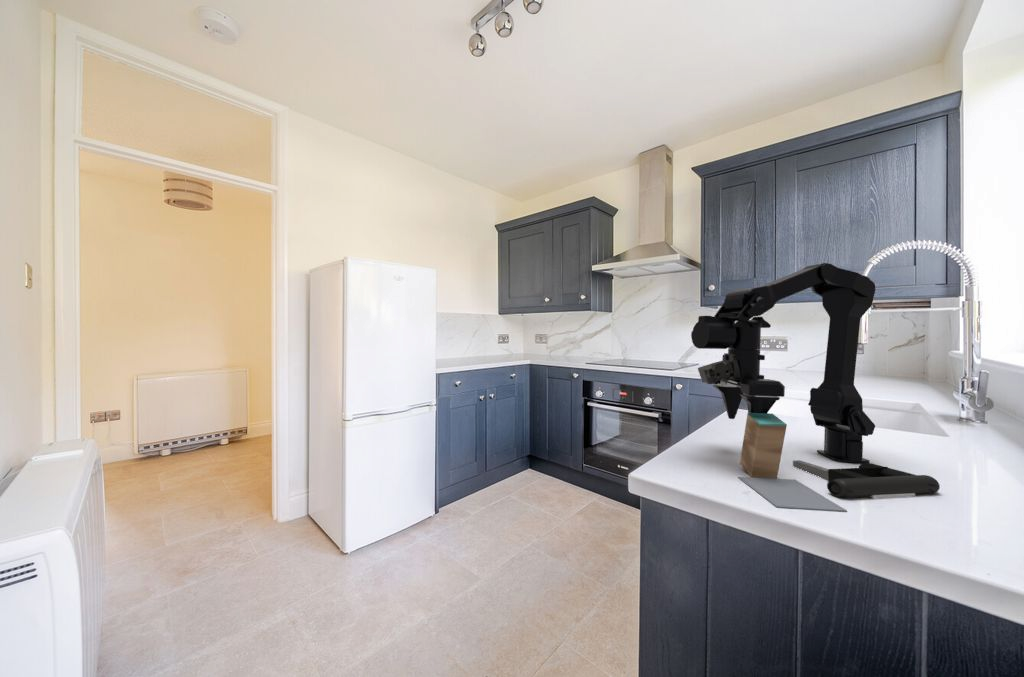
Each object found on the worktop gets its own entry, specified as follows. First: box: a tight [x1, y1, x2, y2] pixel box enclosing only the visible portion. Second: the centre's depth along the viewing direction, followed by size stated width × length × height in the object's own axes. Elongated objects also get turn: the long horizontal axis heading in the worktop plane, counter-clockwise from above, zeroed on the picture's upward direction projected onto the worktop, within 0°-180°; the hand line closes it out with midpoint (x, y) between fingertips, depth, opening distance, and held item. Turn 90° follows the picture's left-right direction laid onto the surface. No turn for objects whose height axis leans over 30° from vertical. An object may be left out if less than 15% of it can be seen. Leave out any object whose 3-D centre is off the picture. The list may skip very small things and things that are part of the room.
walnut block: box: [739, 412, 788, 479], centre depth 70 cm, size 4×4×11 cm
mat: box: [737, 476, 848, 513], centre depth 63 cm, size 12×10×1 cm
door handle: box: [792, 459, 941, 500], centre depth 68 cm, size 3×20×16 cm
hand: (741, 423), depth 78 cm, fingers open, 9 cm apart
